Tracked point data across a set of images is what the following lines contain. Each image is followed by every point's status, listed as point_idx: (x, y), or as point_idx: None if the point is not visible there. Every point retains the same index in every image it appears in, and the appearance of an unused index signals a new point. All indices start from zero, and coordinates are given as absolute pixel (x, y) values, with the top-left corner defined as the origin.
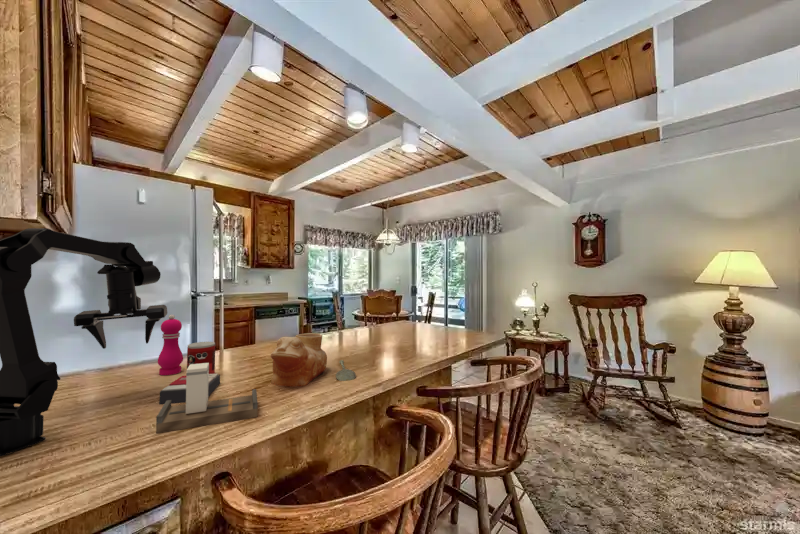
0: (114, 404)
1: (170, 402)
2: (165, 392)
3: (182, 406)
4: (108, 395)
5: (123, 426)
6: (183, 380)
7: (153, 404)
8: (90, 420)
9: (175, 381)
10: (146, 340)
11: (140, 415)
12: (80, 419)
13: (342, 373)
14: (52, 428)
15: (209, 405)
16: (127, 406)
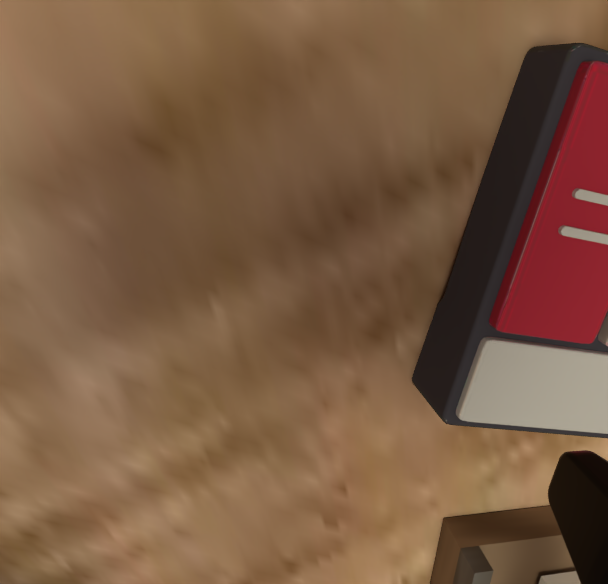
0: (178, 298)
1: (487, 581)
2: (467, 424)
3: (517, 558)
4: (51, 56)
5: (305, 576)
6: (580, 257)
7: (386, 374)
8: (145, 490)
9: (534, 260)
10: (585, 565)
11: (348, 493)
12: (88, 467)
13: None
14: (10, 533)
15: None
16: (263, 359)
